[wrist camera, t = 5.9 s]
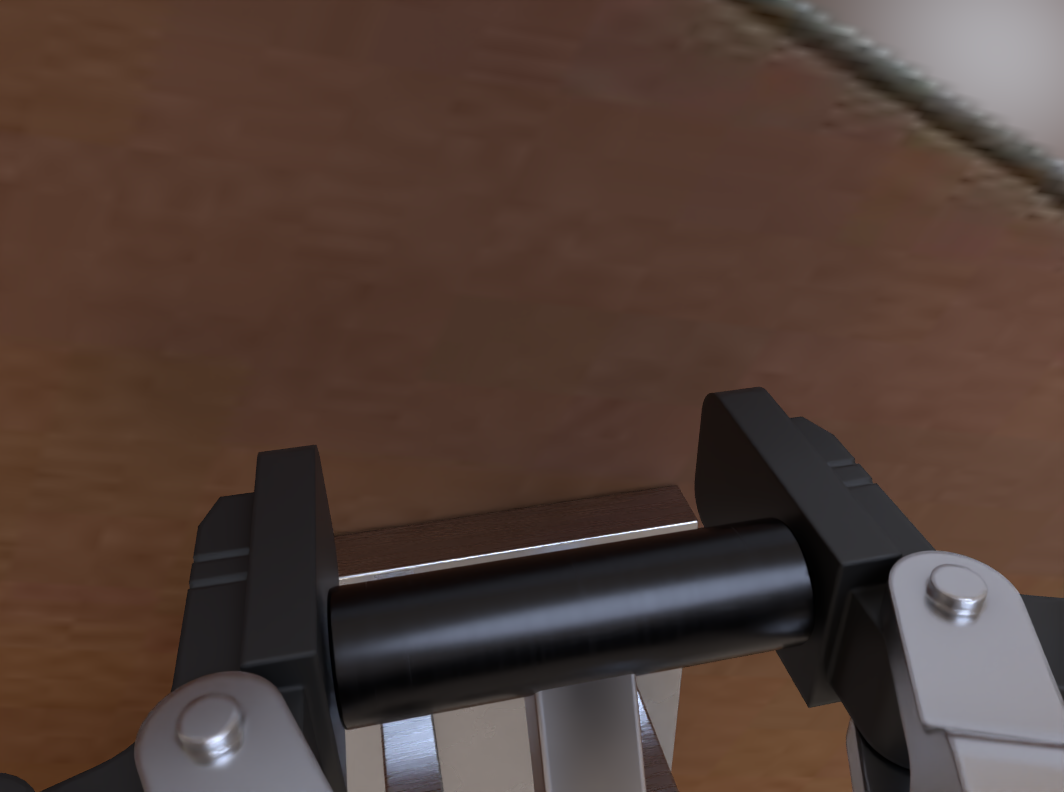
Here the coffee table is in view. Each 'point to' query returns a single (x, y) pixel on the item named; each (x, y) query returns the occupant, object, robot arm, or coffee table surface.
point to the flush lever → (568, 637)
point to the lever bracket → (501, 728)
